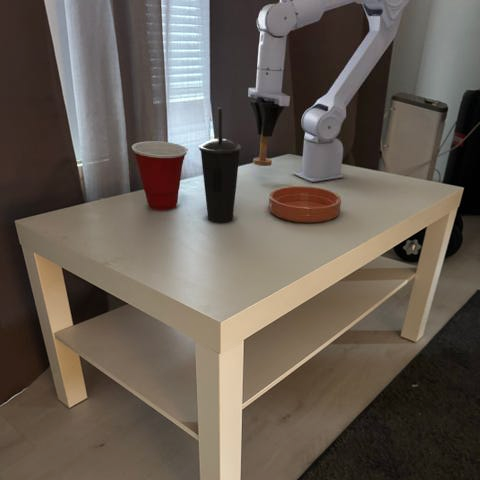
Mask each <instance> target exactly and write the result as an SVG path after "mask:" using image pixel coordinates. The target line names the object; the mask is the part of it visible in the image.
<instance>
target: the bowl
mask: <svg viewBox="0 0 480 480" xmlns="http://www.w3.org/2000/svg"><path fill="white" fill-rule="evenodd" d="M341 204H342V198H341V196H340V195H339V194H338V193H337V192H334V191H332V190H330V189H325V188H322V187H321V188H320V187H315V186H306V185H305V186H303V185H302V186H301V185H296V186H295V185H293V186H285V187H280V188H277V189H274V190H272V191H271V192H270V193H269V196H268V210H269V211H270V213H271V214H273V215H274V216H277V217H279V218H280V219H282V220H285V221H289V222H294V223H304V224H305V223H306V224H307V223H310V224H311V223H321V222H326V221H328V220H331V219H333V218H336V217H338V215H339V214H340V212H341Z"/></svg>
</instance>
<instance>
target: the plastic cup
mask: <svg viewBox="0 0 480 480" xmlns="http://www.w3.org/2000/svg"><path fill="white" fill-rule="evenodd" d="M131 150H132V151H133V153H134V156H135V160H136V164H137V166H138V171H139V176H140V179H141V184H142V187H143V191H144V194H145V198H146V202H147V204H148V207H149V208H150V209H152V210H155V211H169V210H173V209H175V208H176V207H177V205H178V202H179V201H178V199H179V191H180V187H181V180H182V179H181V178H182V171H183V165H184V161H185V157H186V155H187V154H188V150H189V149H188V148H187V147H186V146H184V145H181V144H179V143H173V142H168V141H159V140H157V141H156V140H155V141H154V140H153V141H152V140H151V141H150V140H149V141H140V142H136V143H134V144H132V145H131Z"/></svg>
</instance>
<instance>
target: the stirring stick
mask: <svg viewBox="0 0 480 480" xmlns="http://www.w3.org/2000/svg"><path fill="white" fill-rule="evenodd" d="M268 141H269V137H264V136H263V135H262V131H261V135H260V144H259V154H258V155H259V156H257V157H254V158H253V159H252V164H253V165H255V166H260V167H270V166H272V162H273V161H272V159H271V158H268V157H267V151H268V143H269V142H268Z"/></svg>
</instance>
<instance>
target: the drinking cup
mask: <svg viewBox="0 0 480 480" xmlns="http://www.w3.org/2000/svg"><path fill="white" fill-rule="evenodd" d="M217 120H218V121H217V122H218V125H217V126H218V128H217V130H218V131H217V133H218V135H217V138H213V139H210V140H207V141H205V142H204V143H201V144H200V145H199V146H198V150H199V151H200V155H201V156H200V157H201V165H202V167H201V168H202V174H203V175H202V176H203V183H204V184H203V185H204V194H205V201H206V202H205V203H206V212H207V220H208V221H209V222H211V223H214V224H226V223H230V222H232V221H233V220H234V212H235V211H234V210H235V200H236V192H237V182H238V172H239V164H240V154H241V153H240V152H241V151H242V145H241V144H239V143H236V142H235V141H233V140H230V139H226V138H223V108H222V107H218V108H217Z"/></svg>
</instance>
